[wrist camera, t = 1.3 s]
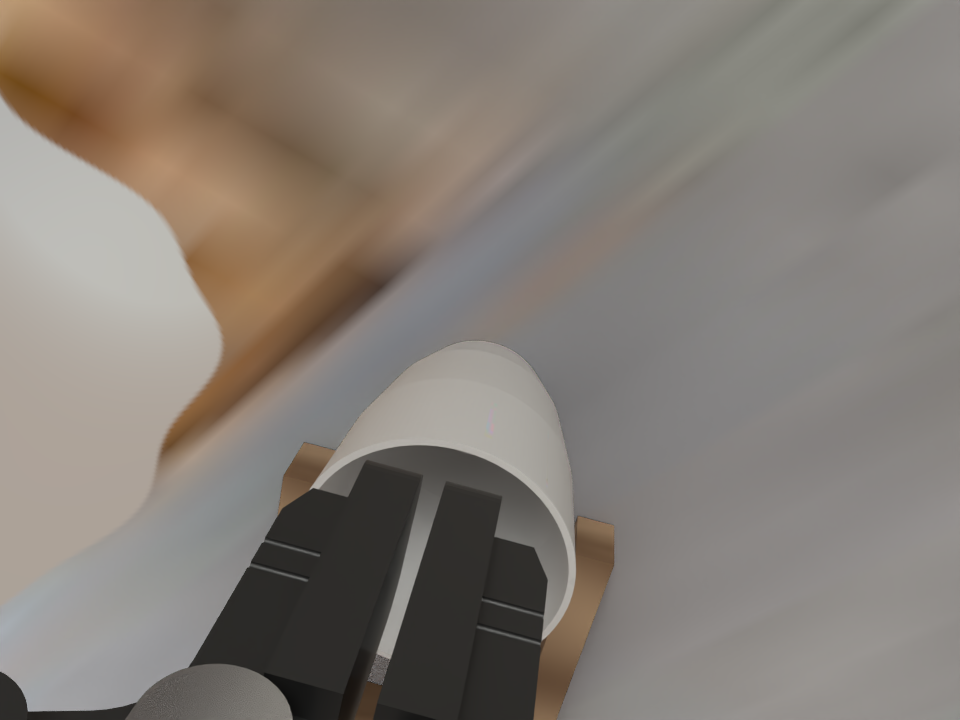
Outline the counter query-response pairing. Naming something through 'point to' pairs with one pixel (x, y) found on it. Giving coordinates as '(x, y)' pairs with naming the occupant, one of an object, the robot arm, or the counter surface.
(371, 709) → the wooden frame
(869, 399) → the counter surface
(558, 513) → the cup
